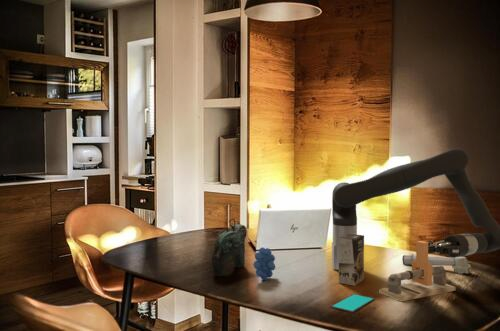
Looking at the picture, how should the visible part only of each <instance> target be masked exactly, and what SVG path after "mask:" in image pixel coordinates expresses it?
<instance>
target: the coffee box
mask: <svg viewBox="0 0 500 331" xmlns="http://www.w3.org/2000/svg"><path fill="white" fill-rule="evenodd" d="M364 278H365V235H362V234H357V235H351V234H347V235H345V236H343V237H340V238H339V270H338V284H344V285H348V286H356V285H358V284H360V283H361V282H362V281H364Z"/></svg>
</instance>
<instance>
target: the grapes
mask: <svg viewBox="0 0 500 331" xmlns="http://www.w3.org/2000/svg"><path fill="white" fill-rule="evenodd" d="M254 259H255V261H254V262H253V264H252V265H253V268H254V269H255V275H256V276H257V277H259V278H261V280H263V281H266V280H267V279H268V278H272V276H273V275H274V274H273V271H274V270H276V264H275V263H274V262H275V260H276V258H275V256H274V254H272V250H271V249H270V248H269V247H268V248H267V247H266V248H265V247H260V248H259V250H258V251H257V252H256V253H255V254H254Z"/></svg>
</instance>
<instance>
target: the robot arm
mask: <svg viewBox="0 0 500 331" xmlns="http://www.w3.org/2000/svg"><path fill="white" fill-rule="evenodd" d="M469 159H470V158H469V156H468V154H467V152H465V151H464V150H462V149H460V148H451V149H447V150H446V151H442V152H441V153H439V154H436V155H434V156H431V157H428V158H426V159H423V160H422V159H421V160H418V161H417V160H416V161H413V162H409V163H405V164H401V165H398V166H394V167H392V168H388V169H386V170H384V171H382V172H379V173H378V174H375V175H373V176H371V177H370V178H368V179H364V180H361V181H356V182H351V183H349V182H345V181H343V182H340V183H337V185H335V186H334V187H333V190H332V198H331V199H332V201H331V202H332V204H331V205H332V209H331V210H332V212H331V214H332V242H331V266H332V269H333V271H335V270H337V271H339V238H340V237H343V236H345V235H347V234H351V235H358V215H357V205H358V204H361V203H363V202H366V201H368V200H371V199H374V198H377V197H382V196H388V195H391V194H395V193H399V192H402V191H405V190H409V189H411V188H414V187H416V186H418V185H421V184H422V183H425V182H426V181H428V180H430V179H433V178H435V177H436V178H437V177H440V176H445V177H446V179H447V180H448V181H449V182H450V184H451V185H452V187H453V189H454V190H455V193H456V194H457V195H458V197H459V200H460V201H461V204H462V205H463V207H464V209H465V212H466V213H467V216H468V218H469V219H470V222H471V223H472V225H473V226H474V227H475V228H484V229H485V230H486V232H483V233H480V232H471V233H459V234H451V235H447V236H446V237H445V238H444V239H443V240H439V241H436V242H434V241H433V240H428V241H427V242H428V255H429V254H436V255H437V254H439V255H448V256H449V257H450V258H455V257H466V256H470V255H473V254H474V255H475V254H479V253H480V254H481V253H482V254H484V253H485V254H486V253H490V252H494V251H498V250H500V224H499V223H498V222H497V221H496V219H494V217H493V216H492V214H491V212H490V210H489V208H488V207H487V205H486V203H485V201H484V199H483V198H482V197H481V195H480V194H479V192H478V191H477V190H476V189H475V187H474V186H473V185H472V183H471V181H470V179H469V177H468V175H467V172H466V168H467V166H468V164H469V161H470V160H469Z"/></svg>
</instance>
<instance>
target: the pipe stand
mask: <svg viewBox="0 0 500 331" xmlns="http://www.w3.org/2000/svg"><path fill="white" fill-rule="evenodd" d="M418 277H423V278H424V269H422V268H420V270H414V271H412V270H405V271H404V272H397V273H392V274H390V275H389V276H388V280H387V281H388V282H387V286H388V287H383V288H379V289H378V293H379V294H382V295H384V296H387V297H389V298H392V299H394V300H397V301H399V302H405V301H409V300H414V299H415V300H416V299H421V298H425V297H430V296H435V295H440V294H445V293H449V292H454V291H457V290H456V288H457V287H456V286H453V285H451V284H448V283H446V282H447V270H445V266H439V265H437V266H432V285H431V286H425V285H423V284H420V283H417V282H411V283H405V284H402V281H405V280H408V281H409V280H412V278H418Z"/></svg>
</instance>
